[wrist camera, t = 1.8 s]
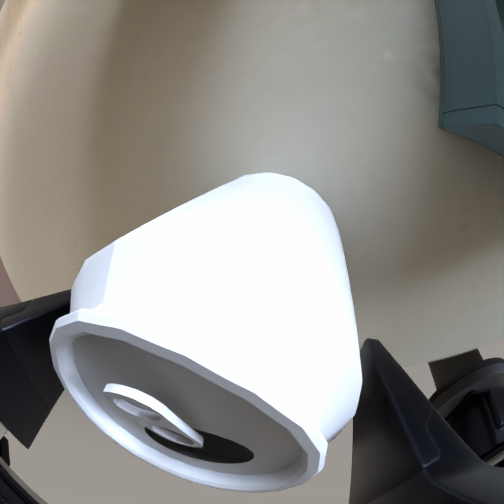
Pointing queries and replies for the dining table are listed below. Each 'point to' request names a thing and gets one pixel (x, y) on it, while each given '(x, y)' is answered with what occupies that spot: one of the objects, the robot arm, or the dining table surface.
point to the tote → (472, 70)
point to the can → (219, 337)
